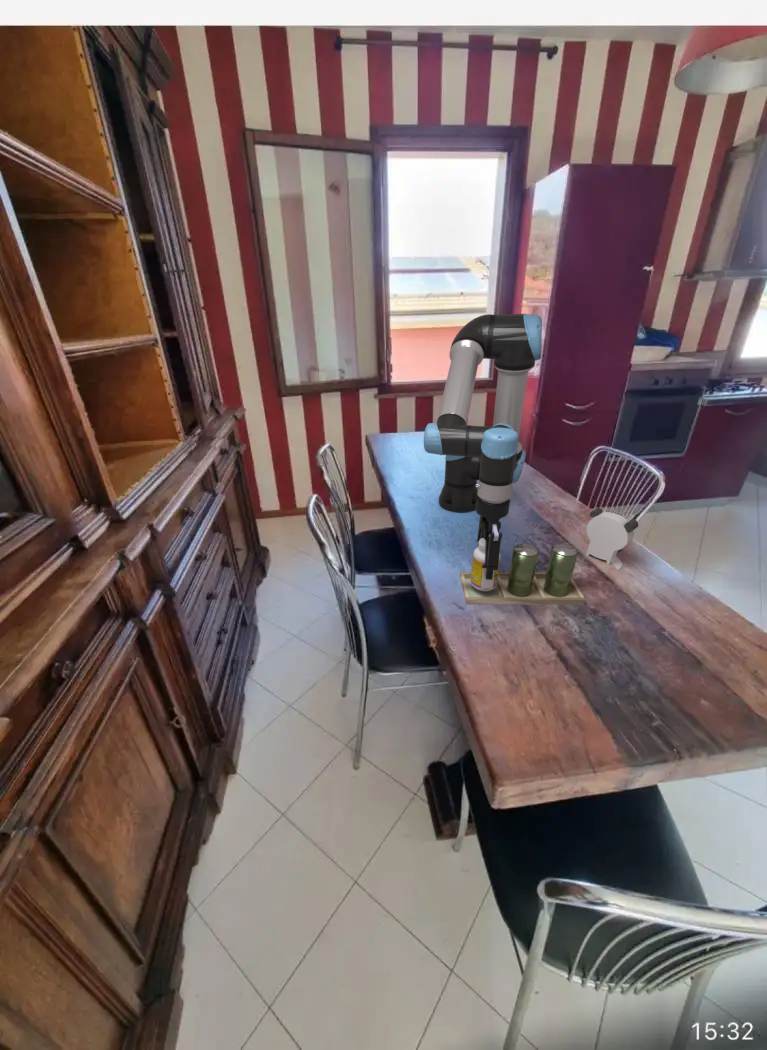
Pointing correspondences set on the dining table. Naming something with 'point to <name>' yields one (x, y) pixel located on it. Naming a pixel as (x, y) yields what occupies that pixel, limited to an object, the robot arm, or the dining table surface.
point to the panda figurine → (609, 535)
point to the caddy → (504, 597)
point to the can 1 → (522, 570)
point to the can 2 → (560, 570)
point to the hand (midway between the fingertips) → (483, 578)
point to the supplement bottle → (477, 567)
